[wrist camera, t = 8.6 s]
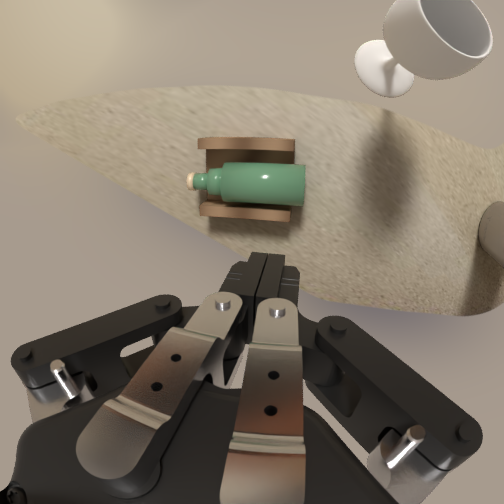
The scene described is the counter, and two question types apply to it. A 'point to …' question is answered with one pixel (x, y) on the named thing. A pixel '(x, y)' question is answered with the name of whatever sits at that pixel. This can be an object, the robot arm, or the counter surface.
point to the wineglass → (424, 45)
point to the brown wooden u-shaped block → (245, 151)
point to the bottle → (253, 183)
